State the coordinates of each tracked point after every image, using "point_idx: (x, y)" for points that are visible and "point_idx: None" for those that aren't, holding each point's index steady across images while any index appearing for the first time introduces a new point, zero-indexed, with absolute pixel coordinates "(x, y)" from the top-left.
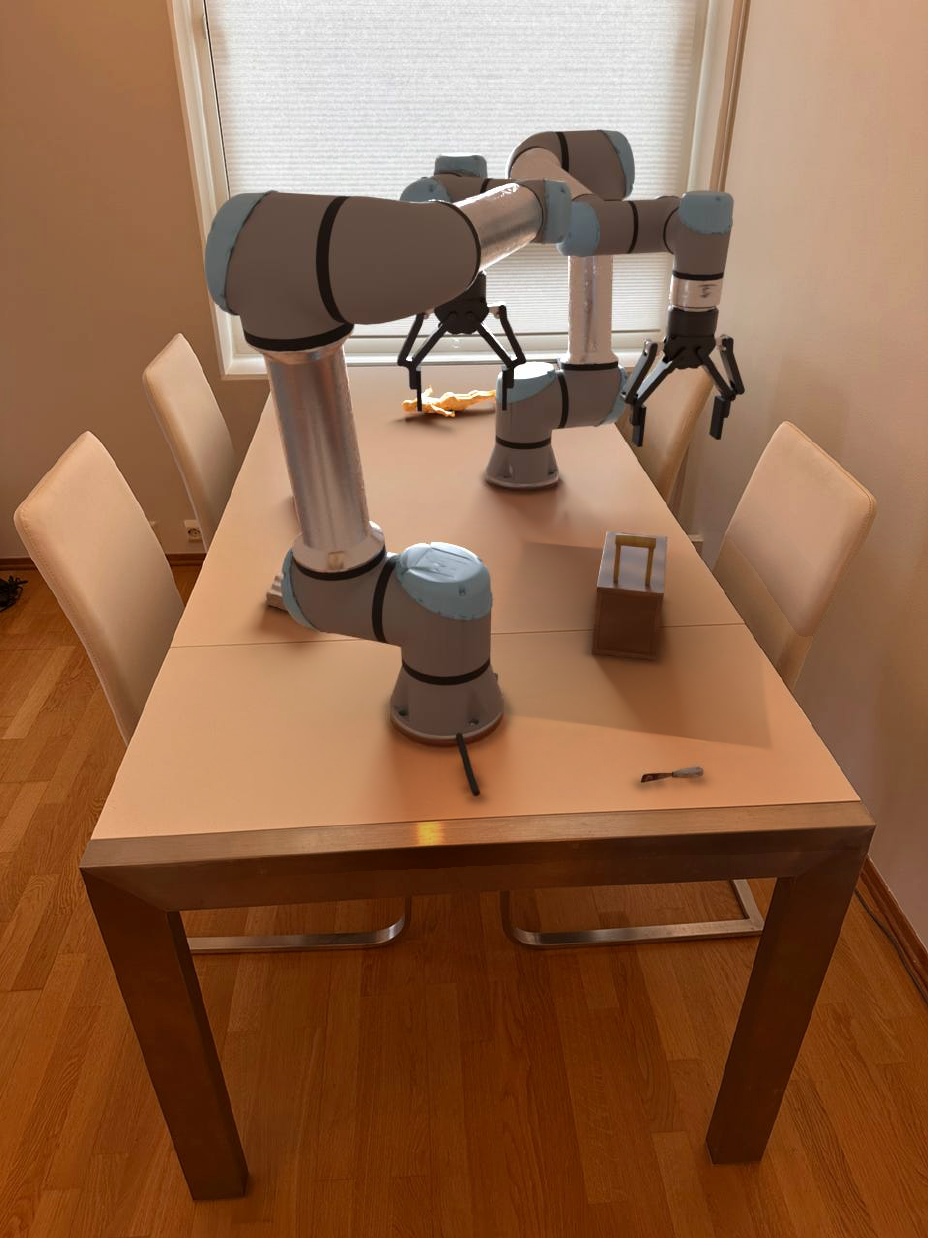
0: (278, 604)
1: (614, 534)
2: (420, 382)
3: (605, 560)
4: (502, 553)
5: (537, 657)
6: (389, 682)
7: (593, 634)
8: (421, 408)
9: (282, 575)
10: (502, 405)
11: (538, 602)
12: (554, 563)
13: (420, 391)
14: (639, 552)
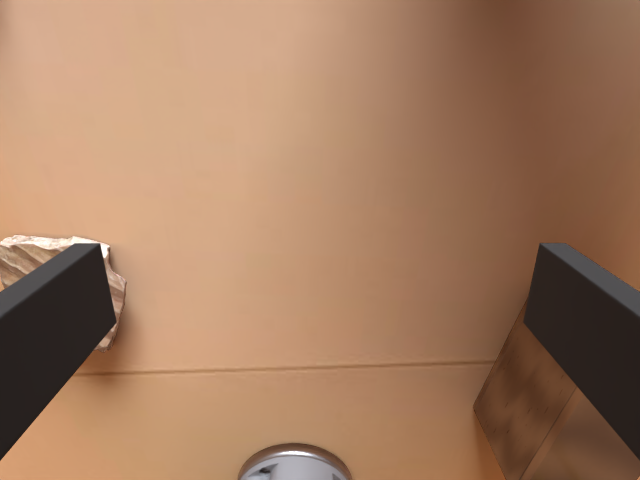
0: None
1: None
2: (8, 445)
3: (556, 447)
4: (399, 131)
5: (404, 410)
6: (229, 443)
7: (483, 429)
8: (107, 331)
9: (5, 253)
10: (538, 339)
11: (432, 296)
12: (489, 175)
13: (48, 398)
14: None
